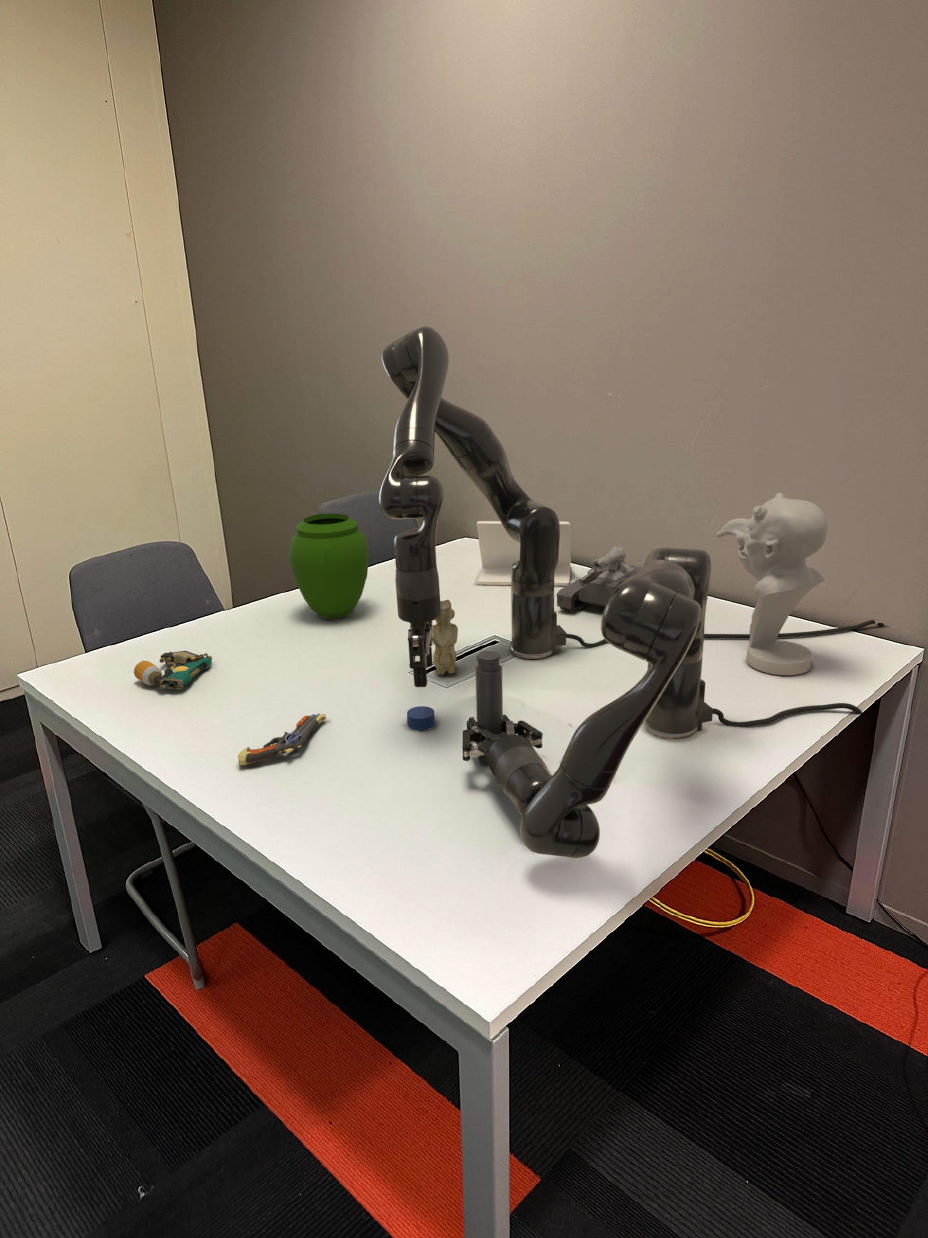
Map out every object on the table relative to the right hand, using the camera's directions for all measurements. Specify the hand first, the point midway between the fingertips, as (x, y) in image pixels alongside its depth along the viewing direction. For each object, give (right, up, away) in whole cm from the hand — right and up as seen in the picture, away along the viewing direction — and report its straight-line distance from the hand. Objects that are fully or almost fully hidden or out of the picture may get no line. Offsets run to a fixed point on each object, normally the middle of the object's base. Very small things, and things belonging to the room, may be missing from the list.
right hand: (484, 720), depth 145 cm
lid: (-11, 0, +12) cm, 17 cm away
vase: (-36, +18, +69) cm, 80 cm away
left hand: (-11, +7, +9) cm, 15 cm away
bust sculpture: (+59, +8, +35) cm, 69 cm away
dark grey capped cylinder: (+1, -7, 0) cm, 7 cm away
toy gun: (-36, -5, +7) cm, 37 cm away
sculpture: (-7, +6, +35) cm, 36 cm away
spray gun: (-64, +5, +36) cm, 74 cm away
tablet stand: (+14, +29, +94) cm, 100 cm away
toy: (+35, +21, +69) cm, 80 cm away
